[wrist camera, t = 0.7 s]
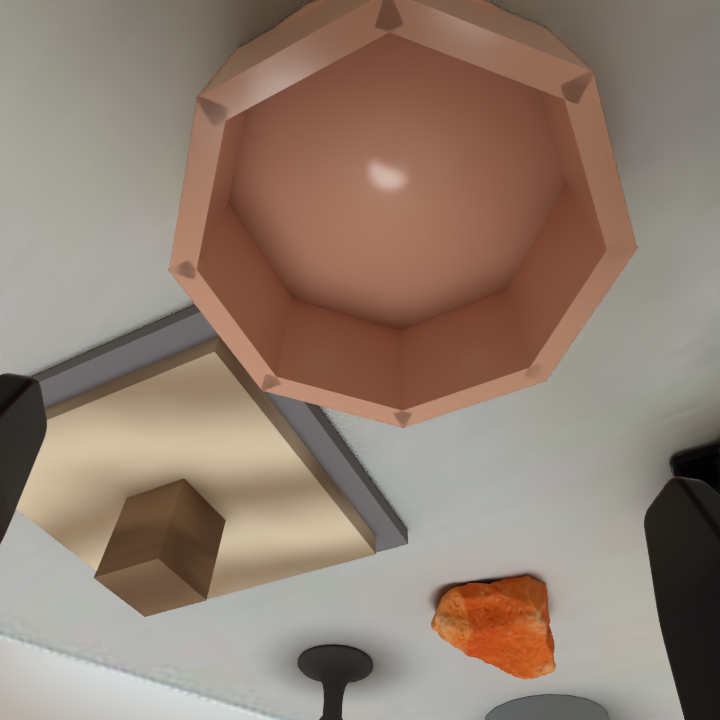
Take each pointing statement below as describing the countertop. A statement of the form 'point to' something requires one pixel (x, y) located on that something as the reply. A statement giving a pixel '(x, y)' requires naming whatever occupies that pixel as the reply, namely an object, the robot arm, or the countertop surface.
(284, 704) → the countertop surface
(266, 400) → the lid
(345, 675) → the sundae
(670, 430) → the countertop surface
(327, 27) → the bowl
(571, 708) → the spray bottle
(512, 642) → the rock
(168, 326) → the mat
